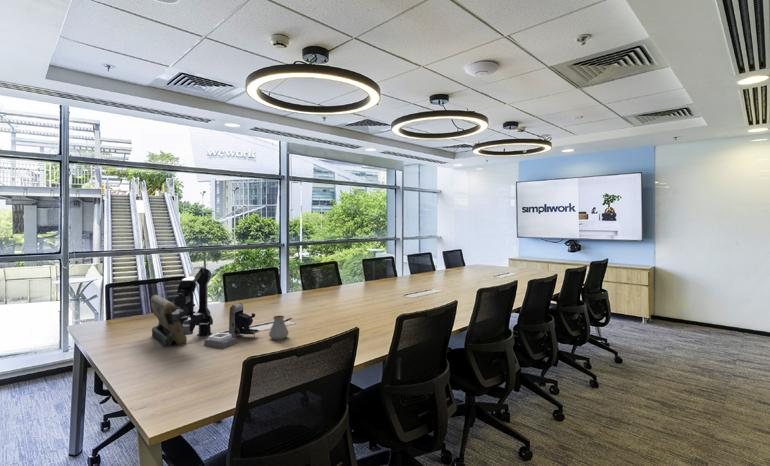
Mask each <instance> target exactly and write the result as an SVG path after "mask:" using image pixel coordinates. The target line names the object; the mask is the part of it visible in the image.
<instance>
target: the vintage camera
mask: <svg viewBox="0 0 770 466" xmlns="http://www.w3.org/2000/svg"><path fill="white" fill-rule="evenodd" d="M228 313H229V317H228V318H229V319H228V334H232V337H233V338H237V337H239V336H240V335H241V336H242V335H251V336H252V335H253V338H254V339H255V338H256V336H255V334H256V333H258V332H260V331H261V330H259V329H255V328H254V329H253V328H250V326H251V325H252V324H253V322H254V319H253V318H255V317H256V313H254V312H253V313H251V315H250V314H247V313H244V304H243V303H242V302H238V303H237V304H235V305H233V304H232V305H231V306H230V307H229V312H228Z"/></svg>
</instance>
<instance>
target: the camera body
mask: <svg viewBox="0 0 770 466" xmlns="http://www.w3.org/2000/svg"><path fill="white" fill-rule="evenodd" d="M237 339H238V338H237V337H235V338H233V337H232V334H229V333H226V332H217V333H215V334H211V335H210V336H209V335H208V338H205V339H203V345H204V346H207V347H208V346H209V347H214V348H218V349H224V348H228V347H231V346H233V345H235V344H237V343H238V342H237Z"/></svg>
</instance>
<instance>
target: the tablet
mask: <svg viewBox="0 0 770 466" xmlns="http://www.w3.org/2000/svg"><path fill="white" fill-rule="evenodd" d="M150 305H151V306H150V307H151V310H152V313H153V315H154V316H155V317H156V318H157V320H158V324H157V325H156V326H153V327H152V328H151V337H152V338H153V339H154V340H156V341H157V342H158V343H159V344H161V346H163V347H164V348H170V347H172V342H173V341H174V342H175V344H177V345H178V346H185V345H186V344H187V340H188V339H187V335H183V328H182V326H181V323H180V321H178V320H176V319H173V318H172V317H171V314H172V313H173V312H174V311H176V310H177V308H176V304H175V303H173V302H171V301H169V300H167V299H166V298H164V297H162V296H161V295H159V294H154V295H152V296H151V298H150Z"/></svg>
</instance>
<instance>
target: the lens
mask: <svg viewBox="0 0 770 466" xmlns="http://www.w3.org/2000/svg"><path fill="white" fill-rule="evenodd" d="M188 320H189V319H188ZM188 320H184V321H183V335H186V336H188V335H189V336H190V335H193V334H194V331H193V332H190V323H189V322H188Z"/></svg>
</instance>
